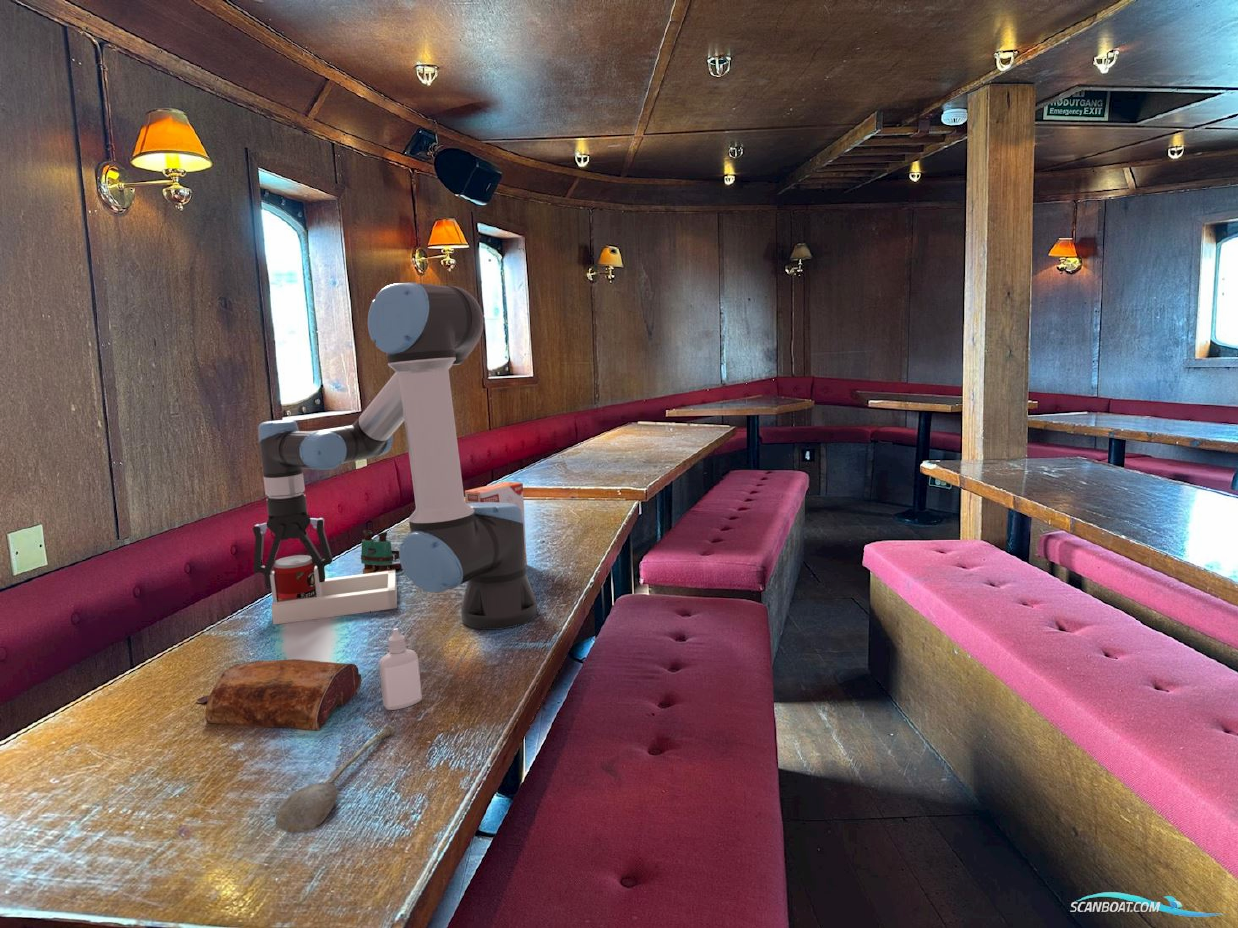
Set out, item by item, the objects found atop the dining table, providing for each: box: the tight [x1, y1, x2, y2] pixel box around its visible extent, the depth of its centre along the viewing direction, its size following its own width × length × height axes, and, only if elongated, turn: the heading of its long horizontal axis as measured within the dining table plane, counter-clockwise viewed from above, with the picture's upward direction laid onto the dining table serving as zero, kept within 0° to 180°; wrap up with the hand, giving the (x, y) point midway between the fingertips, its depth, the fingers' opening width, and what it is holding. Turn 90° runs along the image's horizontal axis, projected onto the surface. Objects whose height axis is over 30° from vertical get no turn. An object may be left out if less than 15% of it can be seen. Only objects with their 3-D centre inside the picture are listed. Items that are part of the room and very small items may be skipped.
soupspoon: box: [275, 725, 395, 833], centre depth 94 cm, size 22×3×7 cm
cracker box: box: [464, 481, 528, 566], centre depth 178 cm, size 14×6×21 cm, turn 143°
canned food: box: [273, 554, 317, 601], centre depth 157 cm, size 8×8×11 cm
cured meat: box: [196, 659, 363, 731], centre depth 117 cm, size 18×25×7 cm
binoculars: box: [360, 530, 403, 574], centre depth 184 cm, size 9×11×10 cm
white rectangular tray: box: [270, 569, 398, 626], centre depth 160 cm, size 15×24×4 cm, turn 106°
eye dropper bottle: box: [378, 627, 423, 711], centre depth 113 cm, size 4×6×12 cm
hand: (298, 599), depth 158 cm, fingers closed on canned food, 8 cm apart
